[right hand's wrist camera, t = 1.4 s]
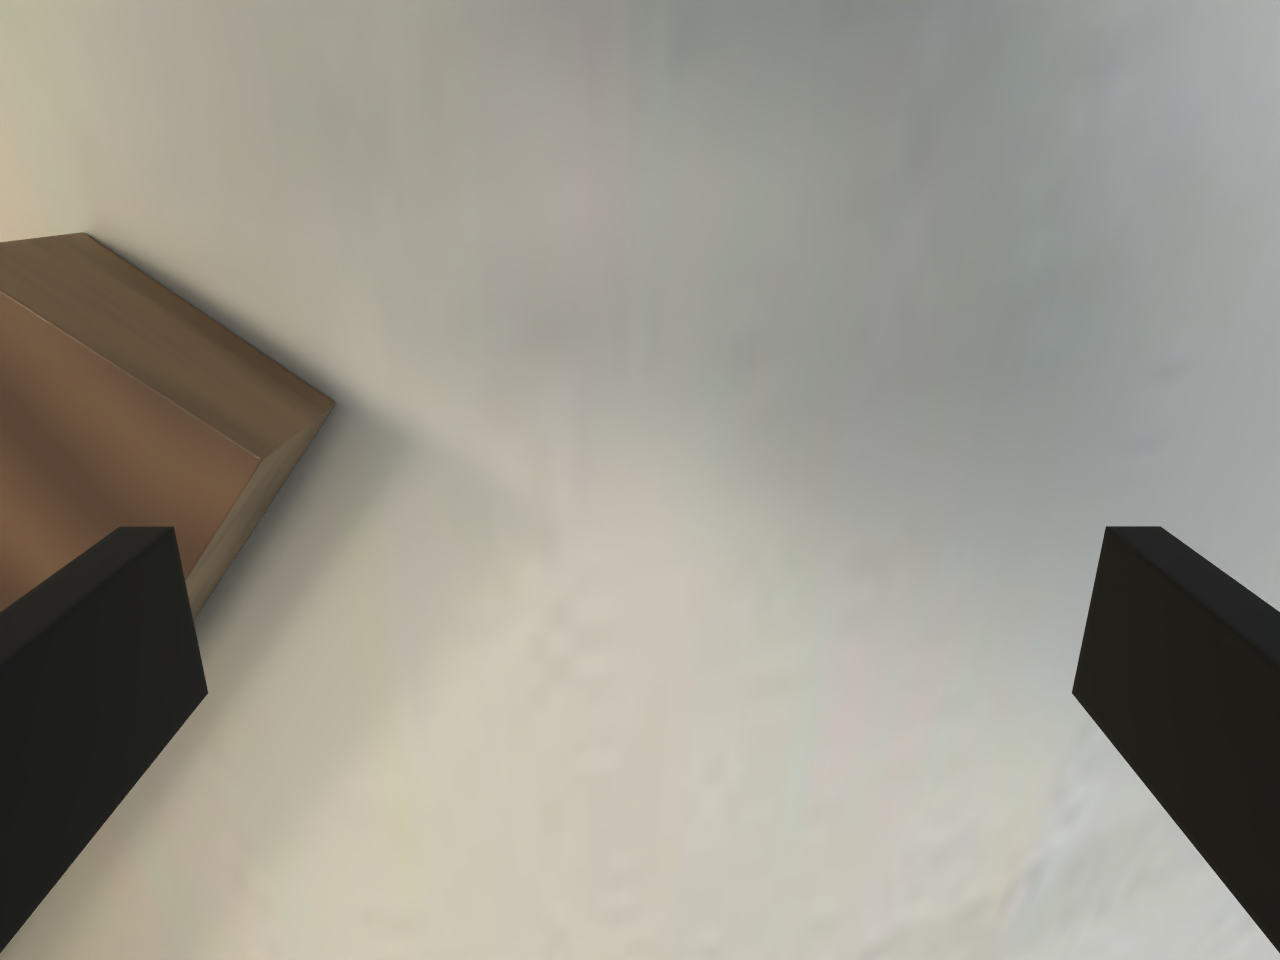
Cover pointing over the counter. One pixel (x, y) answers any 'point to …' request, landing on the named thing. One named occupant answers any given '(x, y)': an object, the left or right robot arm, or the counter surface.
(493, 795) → the counter surface
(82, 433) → the wide beam
